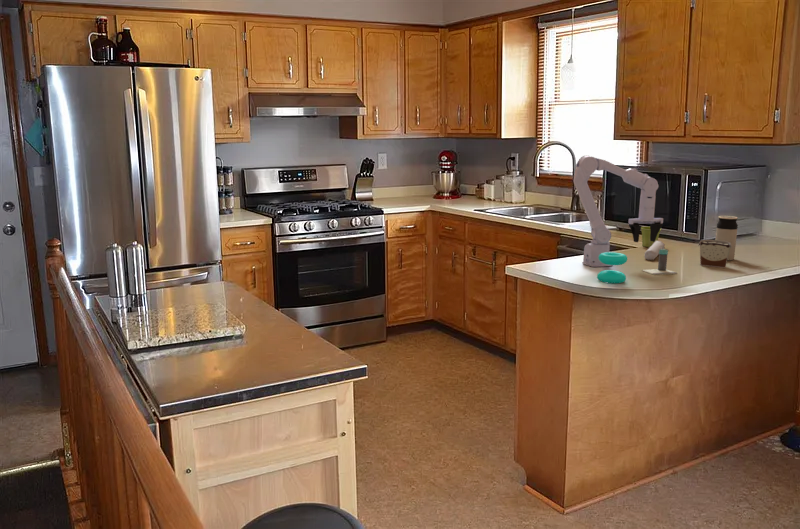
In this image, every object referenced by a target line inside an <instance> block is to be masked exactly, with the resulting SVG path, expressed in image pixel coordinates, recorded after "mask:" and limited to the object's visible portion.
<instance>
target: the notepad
mask: <svg viewBox="0 0 800 529" xmlns="http://www.w3.org/2000/svg"><path fill="white" fill-rule="evenodd" d="M641 272H643V273H644V272H645V273H647V274H650V275H654V276H662V275H663V276H664V275H666V276H667V275H678V272H677V271H674V270H669V269H667V268H666V271H660V270H658V268H655V269H653V268H652V269H642V270H641Z"/></svg>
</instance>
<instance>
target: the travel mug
mask: <svg viewBox="0 0 800 529" xmlns="http://www.w3.org/2000/svg"><path fill="white" fill-rule="evenodd" d="M737 220H738V216H734V215H733V216H732V215H719V216H718V222H717V223H716V230H715V239H714V240H720V241H727V242H730V243H731V247H732V249H731V248H730V250H729V254H728V259H727V261H733V260H735V255H736V254H735V253H736V247H737V246H736V245H737V244H736V243H737V236H738V235H737V234H738V222H737Z"/></svg>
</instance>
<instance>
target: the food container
mask: <svg viewBox="0 0 800 529" xmlns="http://www.w3.org/2000/svg"><path fill="white" fill-rule="evenodd" d="M698 247H699V256H700V257H699V258H700V265H699V266H704V267H713V268H721V269H722V268H723V269H725V268H726V266H727V262H728V260H727V259H728V254H729V250H730V248H731V249H732V247H731V243H730V242H727V241H720V240H715V239H701V240H700V241H699V242H698Z"/></svg>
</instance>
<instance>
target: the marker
mask: <svg viewBox="0 0 800 529" xmlns="http://www.w3.org/2000/svg"><path fill="white" fill-rule="evenodd" d="M668 255H669V249H666V248H664V249H659V254H658V263H657V264H658V266H657V269H658V270H660V271H666V269H667V265H668Z"/></svg>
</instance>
